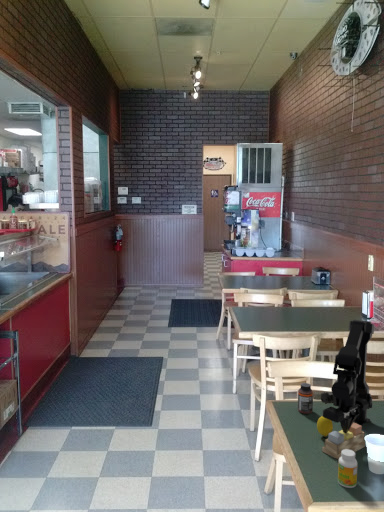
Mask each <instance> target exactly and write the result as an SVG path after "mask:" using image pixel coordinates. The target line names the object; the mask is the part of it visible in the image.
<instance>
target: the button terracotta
mask: <svg viewBox="0 0 384 512" xmlns="http://www.w3.org/2000/svg"><path fill="white" fill-rule="evenodd" d="M362 427H363V425H359V424H357V423H355V422H353V424H352V426H351V427H350V429H349V432H352V433H353V435H355V436H356V435H358V434H360V433H361V431H363V430H362Z"/></svg>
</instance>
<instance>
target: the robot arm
mask: <svg viewBox="0 0 384 512" xmlns="http://www.w3.org/2000/svg"><path fill="white" fill-rule="evenodd" d="M348 331H349V332H348V336H347V339H346V343H345V345H344V346H342V347H340V348H339V350H338V353H337V354H336V355H335V359H334V365H333V370H332V371H333V372H332V375H336V377H337V378H336V380H335V382H334V383H333V384H332V385H331V389H330V390H331V391H329V392H327V391H326V392H321V393H320V400H321V401H320V402H322V403H323V404H325V405H328V404H333V405H332V406H329V407H327V408H325V409H323V410H322V416H323V417H324V418H327V419H329V420H331V421H332V422H333V423H340V427H341V430H343V432H344V433H347V432H348V431H349V429H350V427H351V426H352V424H353V423H356V424H358V425H361V426H363V425H364V424H366V423H369V422H370V421H371V419H370V418H368V410H370V409H373V406H374V405H373V397H372V394H371V392H370V386H369V385H368V383H367V381H366V376H367V375H366V374H367V373H366V372H367V358H368V357H367V355H368V343H369V341H370V340H371V339H372V338H373V334H374V333H375V324H373V323H372V321H370V320H369V321H367V320H359V319H353V320H349V324H348ZM336 407H337V408H336Z"/></svg>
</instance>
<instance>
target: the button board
mask: <svg viewBox="0 0 384 512" xmlns="http://www.w3.org/2000/svg"><path fill="white" fill-rule="evenodd" d="M365 435H366V433H365V432H364V431H363V430H362V431H361V433H360V434H358V435H356V436H355V435H353V437H352V438H350V439H348V440H345V439H344V442H343V443H341V444H339V445H336V444H334V443H332V442H330V441H328V438H326V439H324V446H322V447H321V449H322V450H321V452H322V453H324V454H326V455H329V456H330V457H332V458H334V459H337V460H338V461H339V458H340V457H341V451H342V450H344V449H349V450H352V451H354V452H355V453H356V452H358V451H360V450H361V449H363V448H365V447H366V446H365V441H366V440H364V437H366V436H365Z"/></svg>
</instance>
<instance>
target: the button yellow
mask: <svg viewBox="0 0 384 512" xmlns="http://www.w3.org/2000/svg"><path fill="white" fill-rule="evenodd" d="M338 432H339V433H341V434H344V439H345V440H348V439H350V438H352V437H353V433H352V432H349V431H348V432H347V433H344V432H343V430H342V429H341V430H339V431H338Z"/></svg>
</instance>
